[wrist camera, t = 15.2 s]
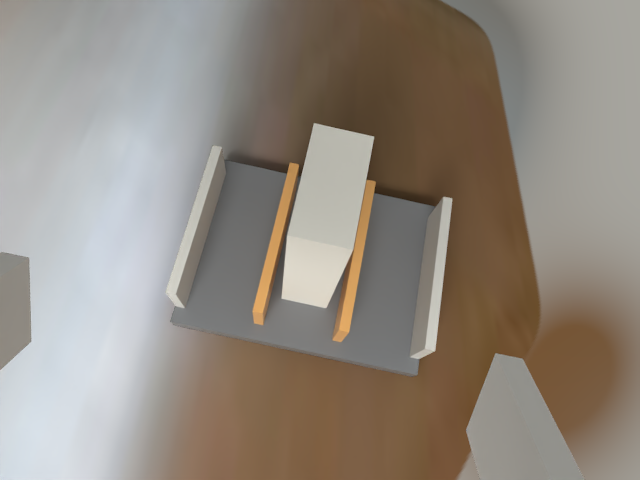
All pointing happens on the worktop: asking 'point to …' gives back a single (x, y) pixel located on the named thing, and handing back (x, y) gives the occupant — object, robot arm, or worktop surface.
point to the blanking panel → (325, 214)
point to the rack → (268, 270)
